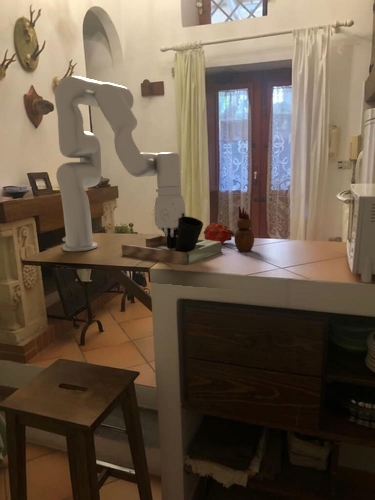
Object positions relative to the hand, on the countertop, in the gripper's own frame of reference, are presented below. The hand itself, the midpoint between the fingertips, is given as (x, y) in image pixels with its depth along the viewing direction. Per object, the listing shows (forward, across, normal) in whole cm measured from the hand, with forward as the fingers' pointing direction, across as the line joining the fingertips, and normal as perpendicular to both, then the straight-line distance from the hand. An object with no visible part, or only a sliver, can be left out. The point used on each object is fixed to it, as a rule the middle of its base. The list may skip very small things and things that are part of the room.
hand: (172, 247), depth 129 cm
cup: (+2, +4, 0) cm, 5 cm away
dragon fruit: (+3, +3, +24) cm, 24 cm away
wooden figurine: (+3, +17, +18) cm, 25 cm away
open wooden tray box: (+3, -3, +3) cm, 5 cm away
